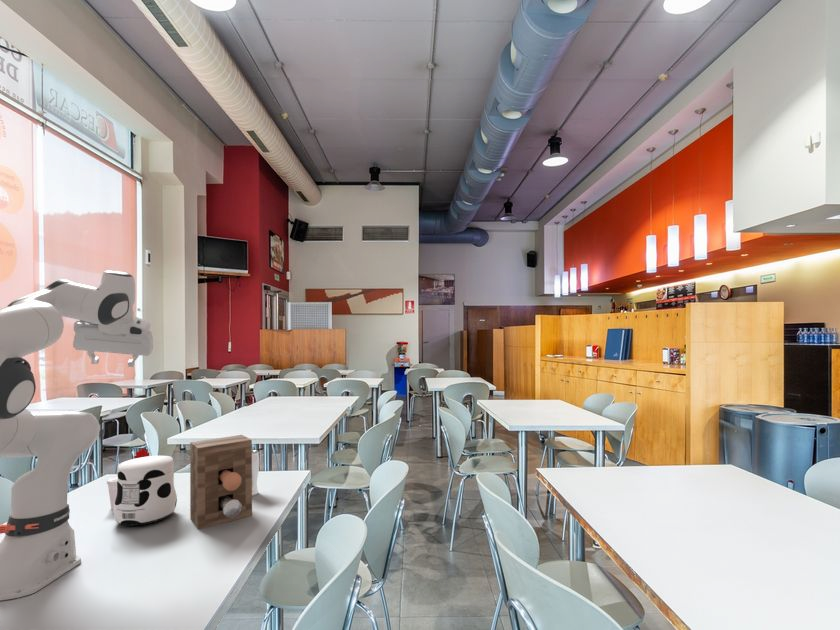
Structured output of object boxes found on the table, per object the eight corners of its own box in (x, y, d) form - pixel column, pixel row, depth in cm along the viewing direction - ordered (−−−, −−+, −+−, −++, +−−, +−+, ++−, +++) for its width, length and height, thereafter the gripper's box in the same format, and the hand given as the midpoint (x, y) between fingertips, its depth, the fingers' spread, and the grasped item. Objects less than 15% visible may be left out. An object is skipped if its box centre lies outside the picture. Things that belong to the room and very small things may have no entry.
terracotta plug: (241, 488, 140) (241, 471, 140) (223, 492, 136) (223, 474, 137) (233, 481, 146) (233, 465, 146) (215, 485, 143) (215, 468, 143)
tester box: (252, 515, 148) (251, 439, 149) (198, 529, 138) (197, 448, 139) (242, 506, 156) (241, 434, 157) (190, 519, 146) (190, 442, 147)
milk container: (172, 504, 159) (172, 451, 160) (181, 520, 145) (181, 462, 146) (111, 517, 149) (112, 460, 149) (115, 536, 135) (115, 473, 135)
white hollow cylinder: (238, 492, 170) (238, 451, 170) (258, 489, 173) (258, 449, 173) (239, 498, 163) (239, 455, 164) (260, 495, 166) (260, 453, 167)
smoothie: (133, 503, 160) (133, 463, 161) (119, 511, 154) (119, 468, 154) (116, 503, 161) (116, 462, 161) (101, 510, 154) (101, 468, 155)
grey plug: (241, 515, 139) (241, 498, 140) (223, 520, 136) (223, 502, 136) (233, 507, 146) (233, 490, 146) (215, 511, 143) (215, 494, 143)
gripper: (70, 322, 131) (68, 366, 135) (151, 331, 139) (148, 372, 143) (77, 314, 137) (76, 356, 141) (156, 323, 144) (152, 363, 148)
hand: (113, 364), depth 142 cm, fingers open, 8 cm apart
